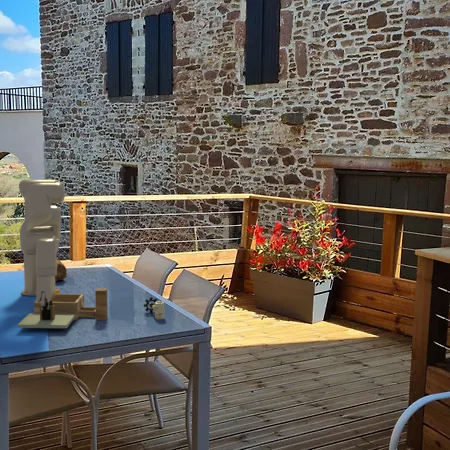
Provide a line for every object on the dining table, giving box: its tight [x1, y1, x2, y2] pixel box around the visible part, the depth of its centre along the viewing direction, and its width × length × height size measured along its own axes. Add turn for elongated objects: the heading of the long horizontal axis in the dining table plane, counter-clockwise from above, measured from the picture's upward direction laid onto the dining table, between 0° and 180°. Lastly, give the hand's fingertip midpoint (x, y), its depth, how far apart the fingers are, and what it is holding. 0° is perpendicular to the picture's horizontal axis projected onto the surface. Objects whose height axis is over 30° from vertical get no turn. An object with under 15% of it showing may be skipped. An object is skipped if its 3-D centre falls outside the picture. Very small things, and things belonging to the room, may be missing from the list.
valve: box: [143, 296, 166, 320], centre depth 250 cm, size 7×7×12 cm
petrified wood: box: [55, 258, 68, 283], centre depth 312 cm, size 19×13×10 cm
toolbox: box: [33, 293, 96, 321], centre depth 249 cm, size 14×24×7 cm, turn 91°
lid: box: [17, 305, 76, 329], centre depth 232 cm, size 15×18×6 cm
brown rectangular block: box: [94, 288, 108, 321], centre depth 244 cm, size 4×4×12 cm
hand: (47, 317), depth 233 cm, fingers closed on lid, 2 cm apart
